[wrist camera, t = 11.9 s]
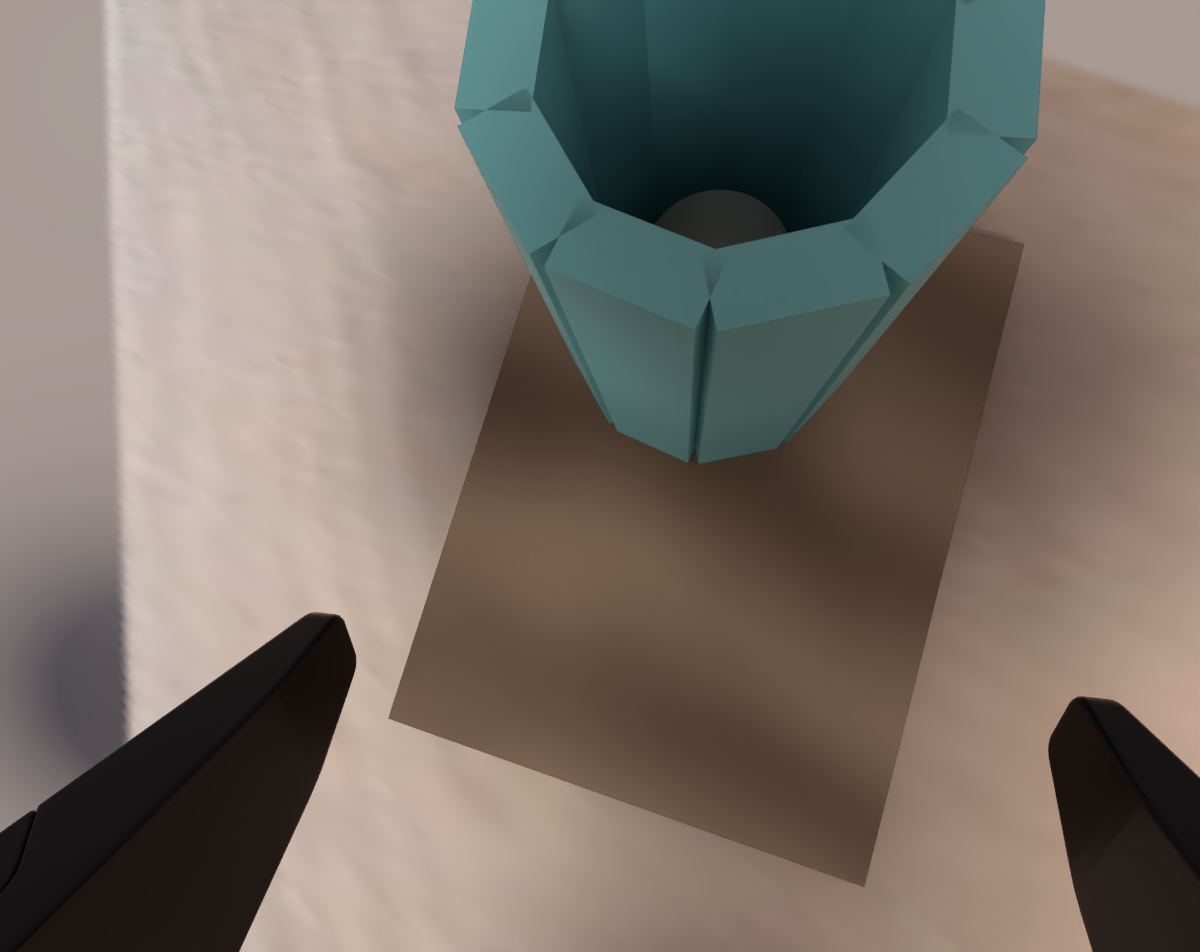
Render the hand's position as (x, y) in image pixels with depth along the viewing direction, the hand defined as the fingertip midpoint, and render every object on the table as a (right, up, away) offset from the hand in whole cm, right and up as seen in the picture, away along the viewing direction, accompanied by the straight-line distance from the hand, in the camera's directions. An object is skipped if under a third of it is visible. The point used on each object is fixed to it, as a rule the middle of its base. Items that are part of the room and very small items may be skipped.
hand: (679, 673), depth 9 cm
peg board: (+2, +2, +10) cm, 10 cm away
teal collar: (+2, +6, +10) cm, 12 cm away
